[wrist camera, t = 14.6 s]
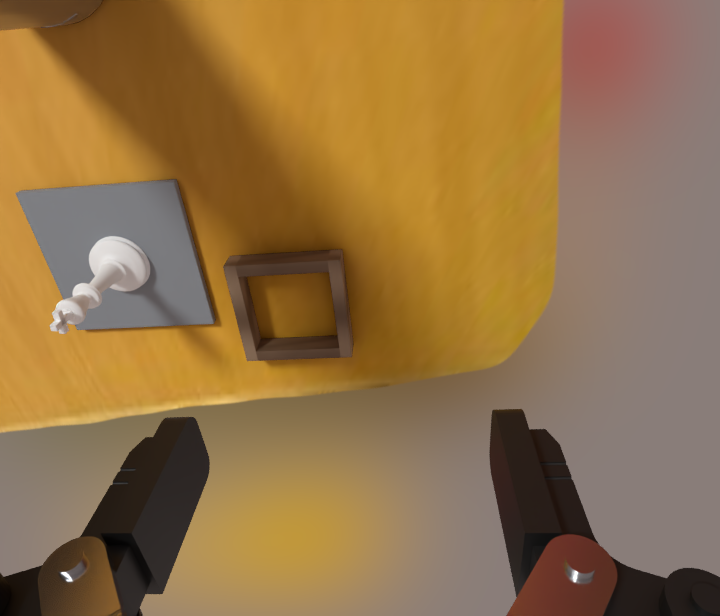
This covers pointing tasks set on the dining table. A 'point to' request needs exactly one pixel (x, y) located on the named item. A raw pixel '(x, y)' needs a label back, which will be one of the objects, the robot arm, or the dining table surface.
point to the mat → (133, 222)
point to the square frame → (280, 265)
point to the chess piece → (103, 279)
